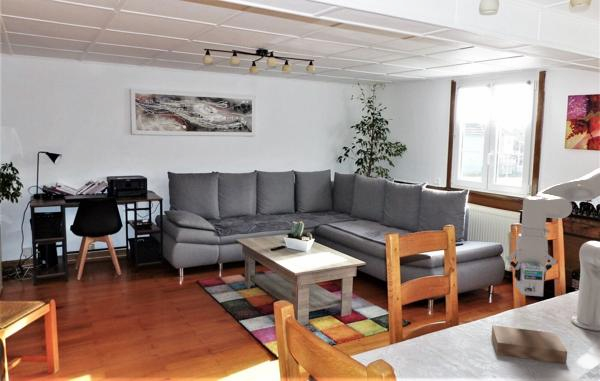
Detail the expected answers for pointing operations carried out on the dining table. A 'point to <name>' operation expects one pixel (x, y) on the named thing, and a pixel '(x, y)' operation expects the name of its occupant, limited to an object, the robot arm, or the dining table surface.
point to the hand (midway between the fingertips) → (529, 280)
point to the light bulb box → (531, 279)
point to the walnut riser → (528, 344)
